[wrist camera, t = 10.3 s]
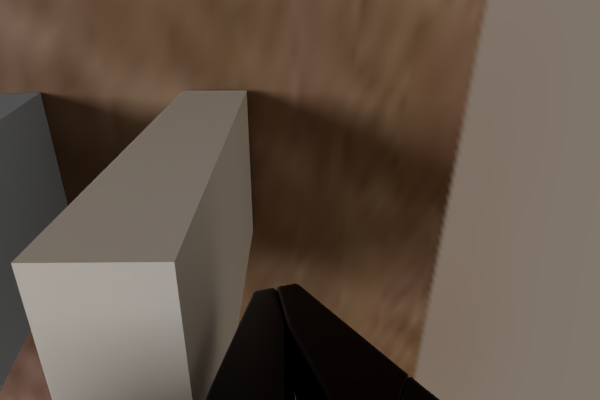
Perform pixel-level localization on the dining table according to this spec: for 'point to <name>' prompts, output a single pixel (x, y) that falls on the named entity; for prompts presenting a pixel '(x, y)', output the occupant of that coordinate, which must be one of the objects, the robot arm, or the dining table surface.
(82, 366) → the domino
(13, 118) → the blue domino
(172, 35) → the dining table surface
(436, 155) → the dining table surface
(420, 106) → the dining table surface
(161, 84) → the dining table surface
